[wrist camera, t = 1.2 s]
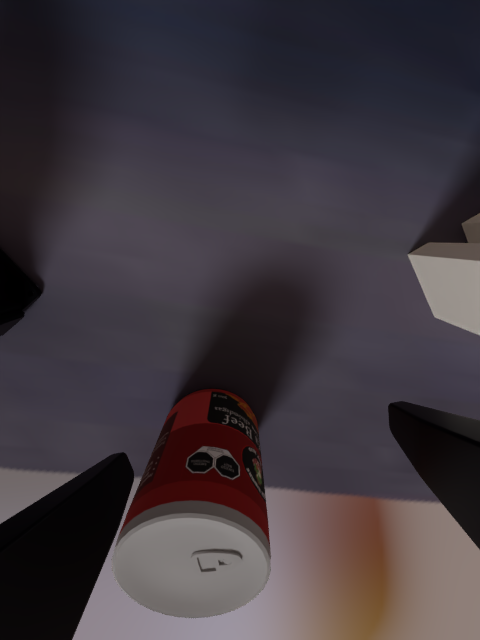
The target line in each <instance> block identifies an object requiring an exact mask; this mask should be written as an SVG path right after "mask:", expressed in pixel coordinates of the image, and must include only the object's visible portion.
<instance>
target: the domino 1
mask: <svg viewBox="0 0 480 640" xmlns="http://www.w3.org/2000/svg"><path fill="white" fill-rule="evenodd" d="M408 257H409V259H410V261H411V264H412V266H413V268H414V271H415V273H416V275H417V278H418V280H419V282H420V285H421V287H422V289H423V292H424V294H425V296H426V299H427V301H428V303H429V306H430V308H431V310H432V313H433V315H434V317H435V318H438V319H440V320H443V321H445V322H448V323H450V324H453V325H455V326H458V327H460V328H463V329H465V330H468V331H470V332H473V333H475V334H478V335H480V243H433V242H429V243H427V244H425V245H423V246H422V247H420V248H418V249H416V250H415V251H413V252H411V253H409V254H408Z"/></svg>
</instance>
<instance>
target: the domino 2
mask: <svg viewBox="0 0 480 640" xmlns="http://www.w3.org/2000/svg"><path fill="white" fill-rule="evenodd" d="M462 227H463V230H464V233H465V235H466V238H467V241H468V243H480V213H479V214H477V215H475V216H474V217H472V218H470V219H469V220H467V221H465V222H463V223H462Z"/></svg>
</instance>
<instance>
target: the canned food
mask: <svg viewBox="0 0 480 640" xmlns="http://www.w3.org/2000/svg"><path fill="white" fill-rule="evenodd" d="M270 559H271V555H270V542H269V528H268V518H267V508H266V498H265V489H264V479H263V470H262V460H261V451H260V441H259V432H258V423H257V420H256V417H255V415H254V413H253V412H252V410H251V408H250V407H249V405H248V404H247V403H246V402H245V401H244V400H243V399H242V398H240V397H239V396H237V395H235V394H233V393H231V392H229V391H225V390H221V389H203V390H199V391H195V392H193V393H191V394H189V395H187V396H185V397H184V398H183V399H181V400H180V401H179V402H178V403H177V404H176V405H175V406H174V407H173V408H172V409H171V411H170V413H169V414H168V416H167V419H166V421H165V423H164V426H163V428H162V431H161V433H160V435H159V438H158V440H157V443H156V445H155V448H154V450H153V452H152V455H151V457H150V460H149V462H148V464H147V467H146V469H145V472H144V474H143V477H142V479H141V481H140V484H139V486H138V489H137V491H136V494H135V496H134V498H133V501H132V503H131V506H130V508H129V510H128V513H127V515H126V519H125V521H124V524H123V526H122V529H121V531H120V534H119V536H118V539H117V543H116V546H115V550H114V553H113V556H112V571H113V574H114V578H115V580H116V582H117V583H118V585H119V587H120V588H121V589H122V590H123V591H124V592H125V593H126V594H127V595H128V596H129V597H130V598H131V599H133V600H134V601H136V602H137V603H138V604H140V605H142V606H144V607H146V608H149V609H150V610H153V611H156V612H159V613H162V614H165V615H170V616H176V617H185V618H201V617H210V616H215V615H221V614H224V613H227V612H230V611H233V610H236V609H238V608H240V607H242V606H244V605H246V604H247V603H249V602H250V601H251V600H253V599H254V598H255V597H256V596H257V595H258V594H259V593H260V592H261V591H262V590H263V589H264V587H265V585H266V583H267V581H268V579H269V575H270V571H271V567H270Z"/></svg>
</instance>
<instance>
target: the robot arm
mask: <svg viewBox="0 0 480 640" xmlns="http://www.w3.org/2000/svg"><path fill="white" fill-rule="evenodd" d="M31 290H32V291H33V293H34V295H32V294H31ZM40 296H41V291H40V289H39V288H38V287H37V286H36V285H35V284H34V283H33V282H32V281H31V280H30V279H29V278H28V277H27V276H26V275H25V274H24V273H23V272H22V271H21V270H20V269H19V268H18V267H17V266H16V265H15V264H14V263H13V261H12V260H11V259H10V258H9V257H8V256H7V255H6V254H5V253H4V252H3V251H2V250H1V249H0V336H1V335H4V334H5V333H6V332H7V331H8V330H10V329H11V328H12V327H13V326H14V325H15V324H16V323H18V322H19V321H20V320H21V319H22V318H23V317H24V314H25V313H24V312H23V311H25V310H26V309H27V308H28V307H29V306H30V305H31V304H32V303H34V302H35V301H36V300H37V299H38V298H39V297H40ZM388 412H389V426H390V430H391V432H392V434H393V436H394V438H395V439H396V441H397V442H398V444H399V445H400V447H401V448H402V450H403V451H404V453H405V454H406V456H407V457H408V459H409V460H410V462H411V463H412V465H413V467H414V468H415V470H416V471H417V472H418V474H419V475H420V477H421V478H422V479H423V481H424V482H425V483H426V484H427V486H428V487H429V488H430V489H431V490H432V492H433V493H434V494H435V495H436V497H437V498H438V499H439V500H440V502H441V503H442V504H443V505H444V506H445V508H446V509H447V510H448V511H449V513H450V514H451V515H452V516H453V517H454V519H455V520H456V521H457V522H458V523H459V525H460V526H461V527H462V528H463V530H464V531H465V532H466V533H467V535H468V536H469V537H470V538H471V539H472V541H473V542H474V543H475V544H476V546H477V547H478V548H479V549H480V420H476V419H472V418H468V417H464V416H460V415H456V414H452V413H448V412H444V411H440V410H436V409H432V408H428V407H424V406H420V405H416V404H412V403H408V402H404V401H399V402H394V403H390V404H389V406H388ZM133 481H134V471H133V469H132V466H131V464H130V462H129V459H128V457H127V455H126V454H125V453H124V452H122V453H116V454H112V455H110V456H109V457H107V458H105V459H104V460H102V461H101V462H99V463H97V464H96V465H94V466H93V467H91V468H89V469H88V470H86V471H85V472H83V473H81V474H80V475H78V476H77V477H75V478H73V479H72V480H70V481H68V482H67V483H65V484H64V485H62V486H61V487H59V488H57V489H56V490H54V491H52V492H51V493H49V494H48V495H46V496H44V497H43V498H41V499H40V500H38V501H37V502H35V503H33V504H32V505H30V506H28V507H27V508H25V509H24V510H22V511H20V512H19V513H17V514H16V515H14V516H13V517H11V518H9V519H8V520H6V521H4V522H3V523H1V524H0V640H72V639H73V636H74V634H75V631H76V629H77V626H78V624H79V622H80V619H81V617H82V615H83V612H84V610H85V607H86V605H87V603H88V600H89V598H90V595H91V593H92V590H93V588H94V586H95V583H96V581H97V579H98V576H99V574H100V571H101V569H102V567H103V564H104V562H105V559H106V557H107V555H108V552H109V550H110V548H111V545H112V543H113V540H114V538H115V536H116V533H117V530H118V528H119V525H120V522H121V519H122V516H123V513H124V510H125V507H126V503H127V500H128V497H129V494H130V491H131V488H132V484H133Z"/></svg>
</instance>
